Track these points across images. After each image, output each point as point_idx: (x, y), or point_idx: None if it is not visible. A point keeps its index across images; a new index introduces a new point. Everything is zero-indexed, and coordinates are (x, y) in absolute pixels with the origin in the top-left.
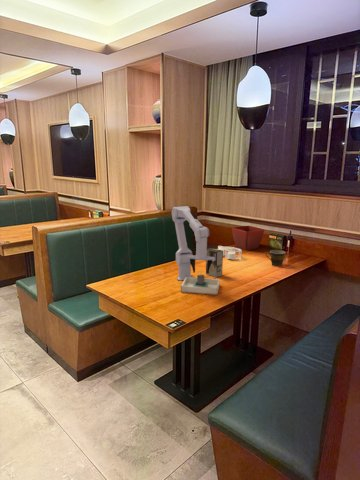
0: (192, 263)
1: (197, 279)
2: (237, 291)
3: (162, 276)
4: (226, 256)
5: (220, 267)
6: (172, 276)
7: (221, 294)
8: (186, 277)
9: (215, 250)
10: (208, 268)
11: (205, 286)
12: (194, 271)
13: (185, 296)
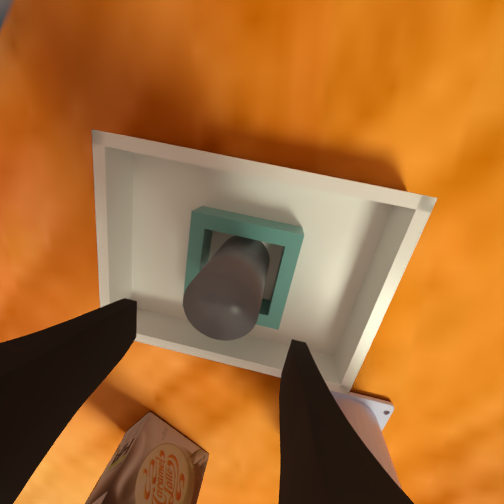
0: (367, 500)
1: (261, 282)
2: (12, 204)
3: (480, 460)
4: None
5: (101, 481)
6: (410, 452)
7: None
8: (343, 384)
9: None
10: (53, 331)
11: (200, 214)
12: (293, 348)
13: (383, 85)
